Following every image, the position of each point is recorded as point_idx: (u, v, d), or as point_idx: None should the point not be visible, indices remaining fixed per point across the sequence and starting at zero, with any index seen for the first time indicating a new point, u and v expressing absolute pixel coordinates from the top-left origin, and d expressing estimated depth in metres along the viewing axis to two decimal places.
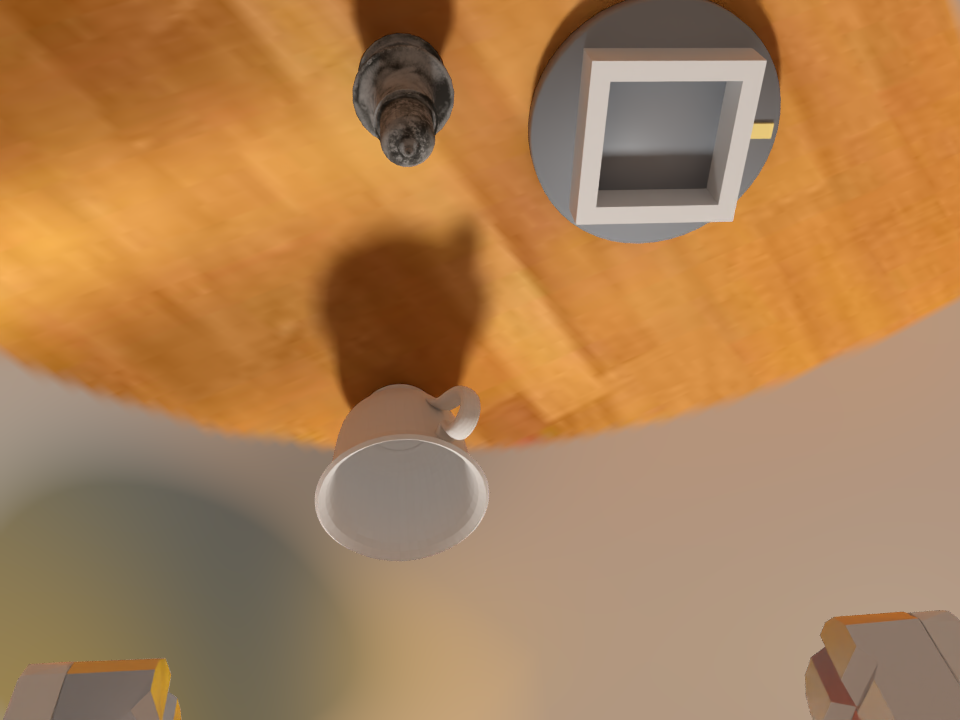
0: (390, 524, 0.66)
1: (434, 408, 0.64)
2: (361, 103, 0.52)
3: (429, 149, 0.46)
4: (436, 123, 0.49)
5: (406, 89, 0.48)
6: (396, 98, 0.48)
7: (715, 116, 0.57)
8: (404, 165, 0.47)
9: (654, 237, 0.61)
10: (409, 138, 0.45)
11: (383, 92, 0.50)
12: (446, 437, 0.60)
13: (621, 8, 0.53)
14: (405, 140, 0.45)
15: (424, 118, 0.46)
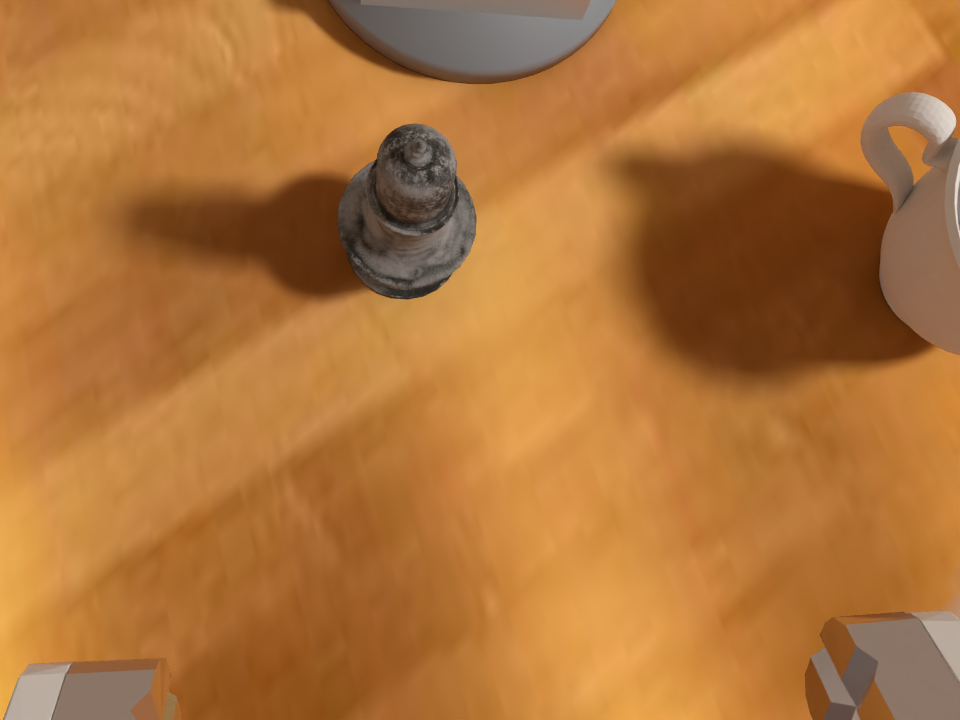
0: None
1: (909, 195, 0.40)
2: (413, 275, 0.37)
3: (426, 128, 0.31)
4: None
5: (366, 186, 0.34)
6: (377, 198, 0.34)
7: None
8: (452, 166, 0.31)
9: None
10: (404, 151, 0.30)
11: (386, 233, 0.36)
12: (954, 149, 0.36)
13: None
14: (407, 156, 0.30)
15: (385, 139, 0.31)
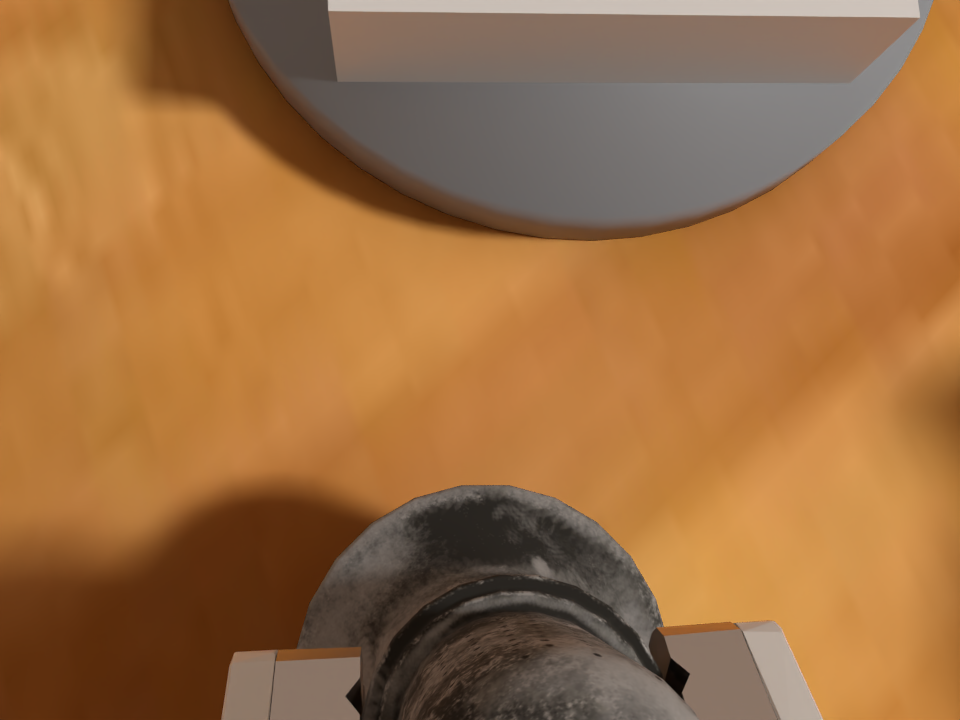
0: None
1: None
2: None
3: (607, 694, 0.07)
4: (523, 586, 0.10)
5: None
6: None
7: None
8: None
9: None
10: None
11: None
12: None
13: None
14: None
15: (425, 715, 0.07)
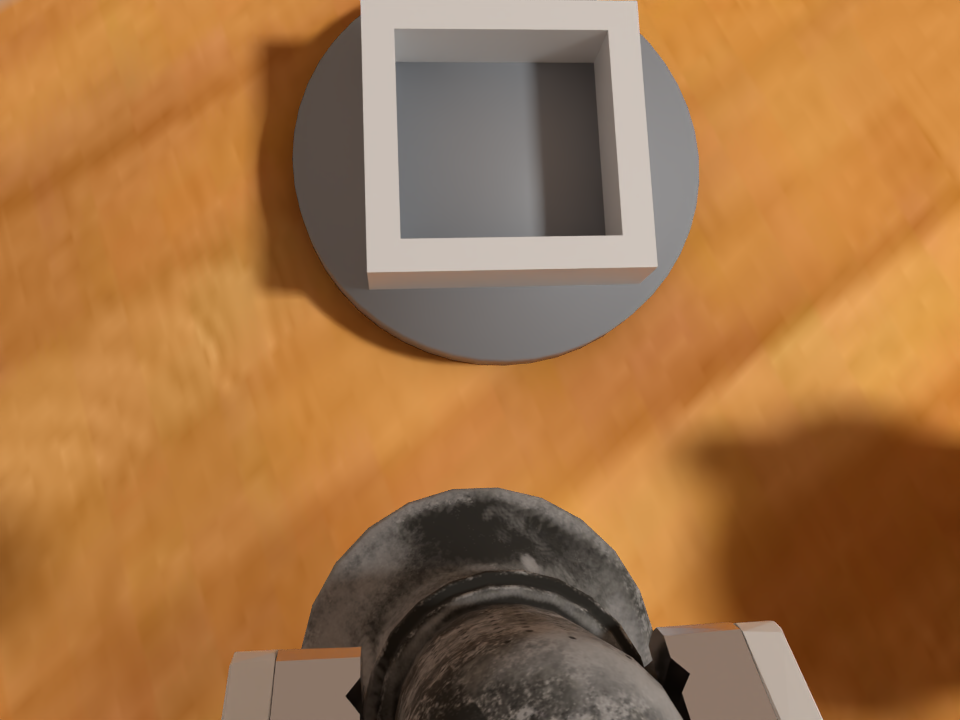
0: None
1: None
2: None
3: (580, 672, 0.08)
4: (510, 581, 0.11)
5: None
6: None
7: (472, 68, 0.36)
8: None
9: (687, 133, 0.36)
10: None
11: None
12: None
13: None
14: None
15: (419, 698, 0.08)
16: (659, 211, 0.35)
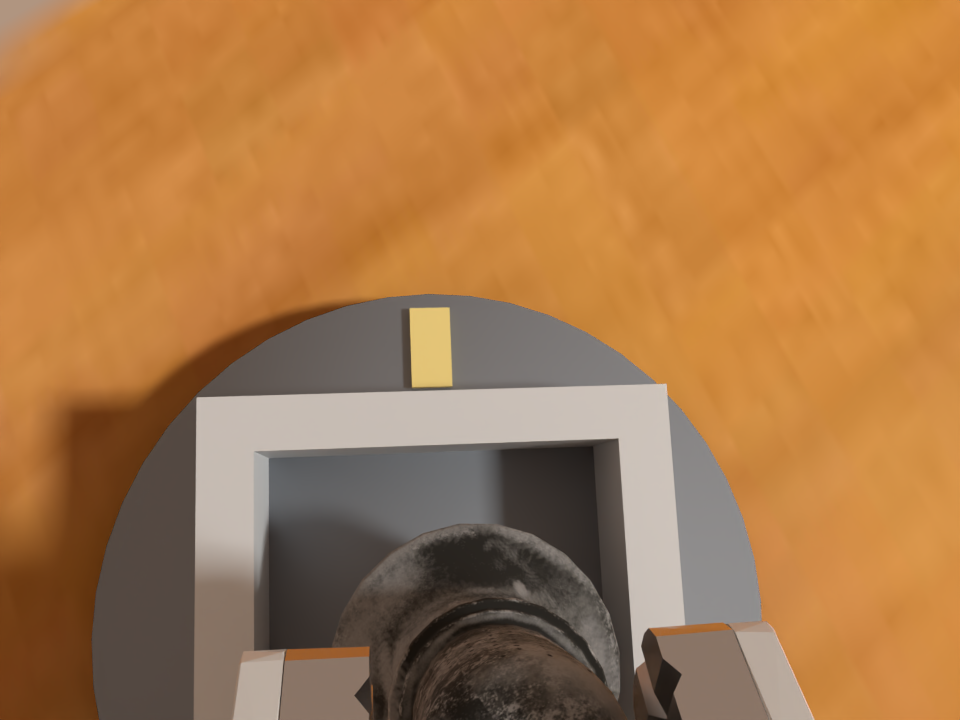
0: None
1: None
2: None
3: (554, 680, 0.11)
4: (505, 606, 0.14)
5: (390, 717, 0.14)
6: None
7: (397, 464, 0.22)
8: None
9: (742, 562, 0.22)
10: None
11: None
12: None
13: None
14: None
15: (438, 693, 0.12)
16: None
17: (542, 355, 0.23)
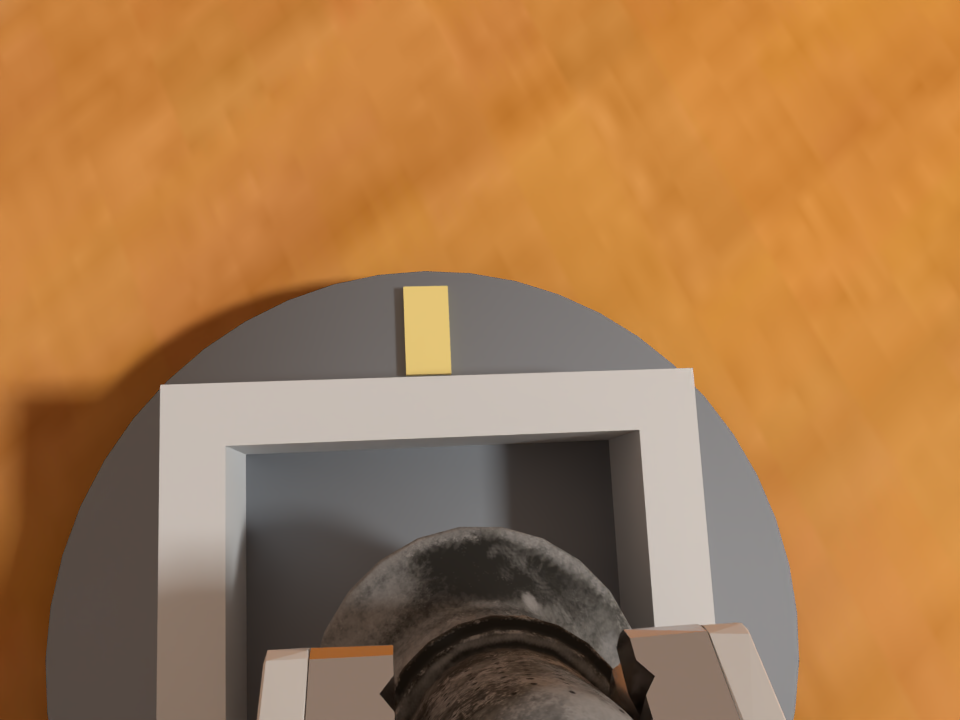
0: None
1: None
2: None
3: None
4: (514, 626, 0.12)
5: None
6: None
7: (389, 460, 0.20)
8: None
9: (775, 568, 0.20)
10: None
11: None
12: None
13: None
14: None
15: None
16: None
17: (551, 339, 0.20)
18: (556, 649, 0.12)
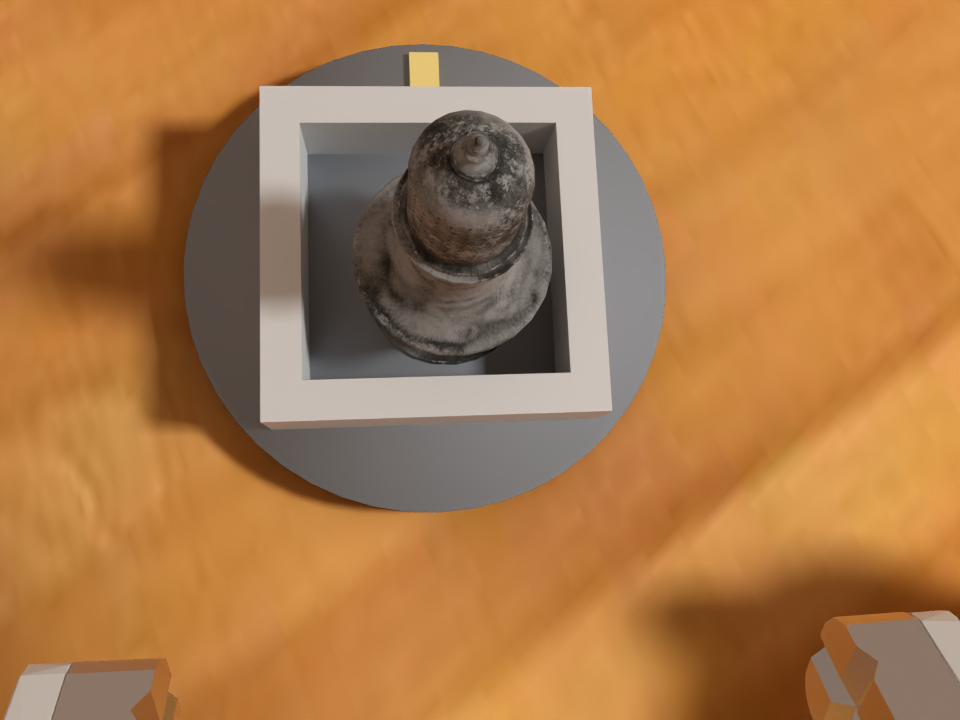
0: None
1: None
2: (465, 336, 0.26)
3: (485, 115, 0.19)
4: None
5: (392, 211, 0.22)
6: (409, 229, 0.22)
7: (400, 161, 0.30)
8: (529, 174, 0.19)
9: (652, 237, 0.31)
10: (453, 153, 0.19)
11: (424, 279, 0.24)
12: None
13: (204, 367, 0.29)
14: (457, 161, 0.19)
15: None
16: (618, 331, 0.30)
17: None
18: None
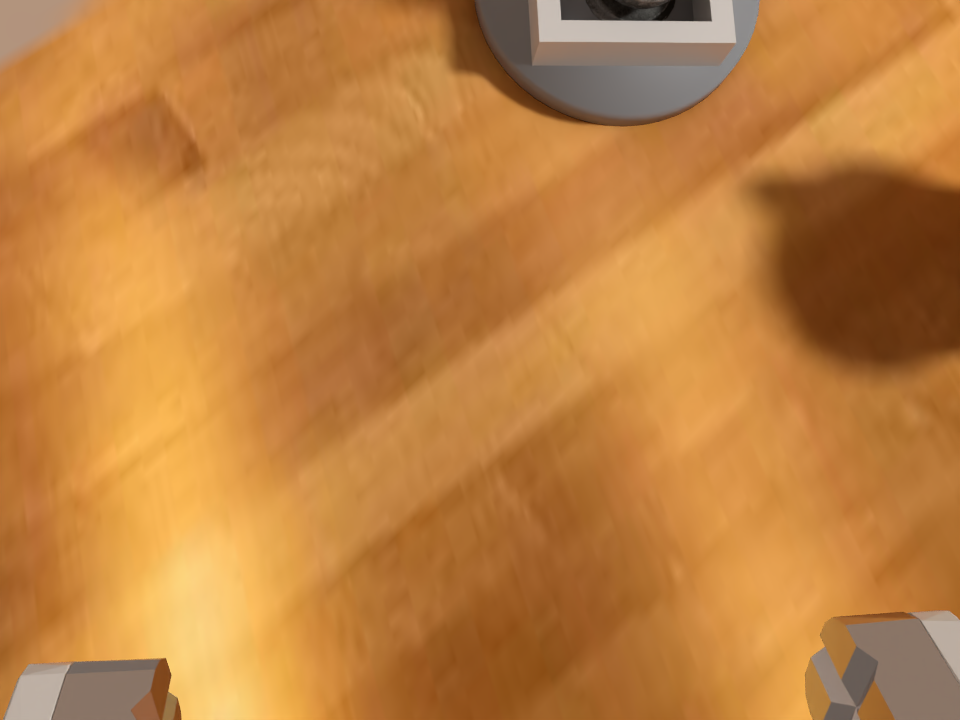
0: None
1: None
2: None
3: None
4: None
5: None
6: None
7: None
8: None
9: None
10: None
11: None
12: None
13: (489, 32, 0.49)
14: None
15: None
16: None
17: None
18: None
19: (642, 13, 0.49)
